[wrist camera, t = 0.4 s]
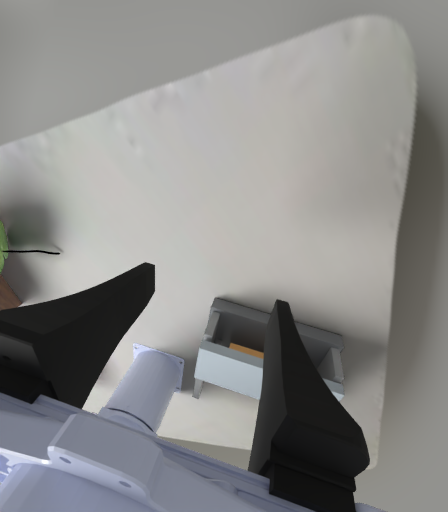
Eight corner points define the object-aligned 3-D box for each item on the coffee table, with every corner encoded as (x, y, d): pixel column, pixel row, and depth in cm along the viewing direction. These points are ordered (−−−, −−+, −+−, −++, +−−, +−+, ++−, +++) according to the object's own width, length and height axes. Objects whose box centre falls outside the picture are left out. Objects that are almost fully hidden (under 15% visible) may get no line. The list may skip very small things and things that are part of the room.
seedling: (65, 217, 32) (1, 213, 30) (50, 227, 25) (-35, 224, 23) (67, 268, 34) (8, 269, 32) (55, 291, 27) (-23, 295, 25)
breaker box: (301, 396, 33) (302, 435, 29) (201, 363, 34) (190, 396, 30) (341, 335, 26) (350, 376, 22) (214, 297, 27) (201, 329, 23)
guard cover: (321, 410, 25) (322, 421, 24) (197, 369, 26) (193, 377, 26) (342, 384, 22) (344, 395, 21) (202, 339, 24) (199, 348, 23)
